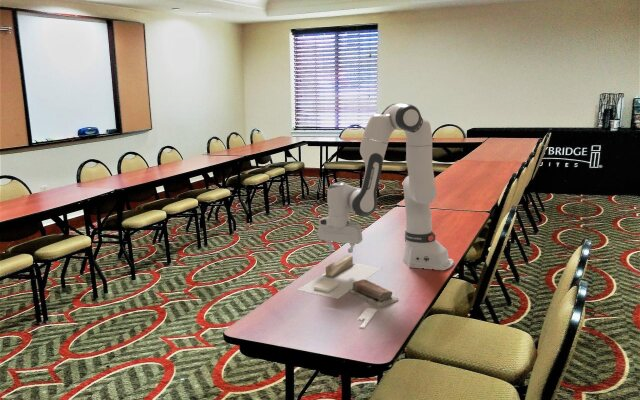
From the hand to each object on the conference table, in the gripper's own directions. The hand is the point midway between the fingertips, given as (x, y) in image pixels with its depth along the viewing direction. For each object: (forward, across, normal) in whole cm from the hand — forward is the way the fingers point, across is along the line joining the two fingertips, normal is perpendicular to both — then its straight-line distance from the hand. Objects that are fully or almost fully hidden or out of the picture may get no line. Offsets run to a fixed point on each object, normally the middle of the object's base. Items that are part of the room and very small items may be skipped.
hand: (341, 251), depth 226 cm
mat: (+9, -4, +9) cm, 13 cm away
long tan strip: (+8, +1, +1) cm, 9 cm away
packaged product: (+10, -24, +19) cm, 32 cm away
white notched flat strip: (+10, -30, +37) cm, 49 cm away
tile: (+8, -4, +16) cm, 19 cm away
